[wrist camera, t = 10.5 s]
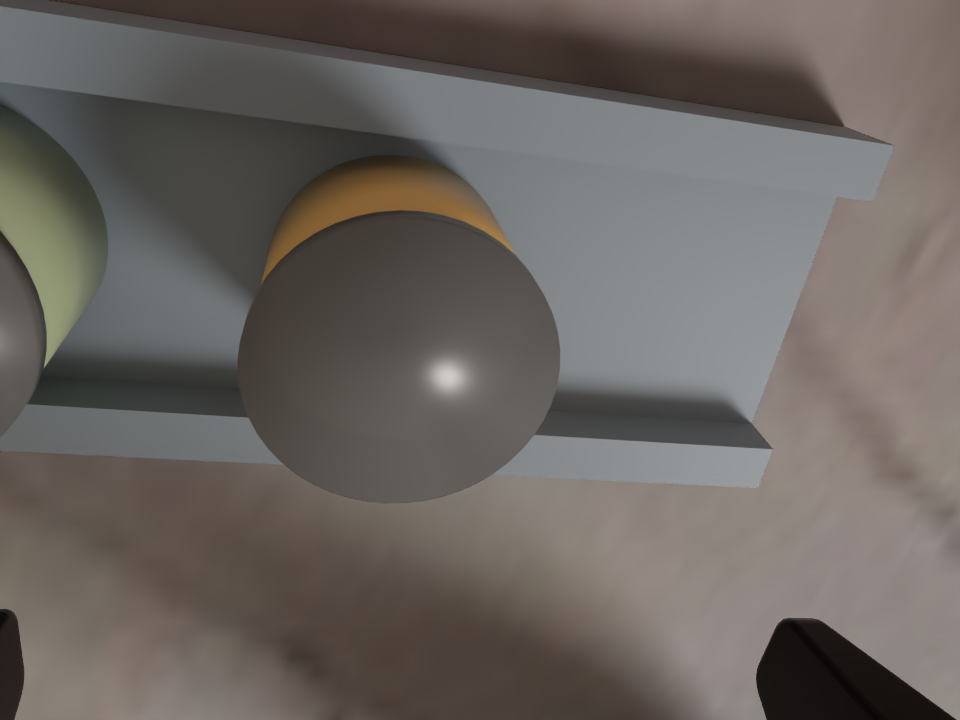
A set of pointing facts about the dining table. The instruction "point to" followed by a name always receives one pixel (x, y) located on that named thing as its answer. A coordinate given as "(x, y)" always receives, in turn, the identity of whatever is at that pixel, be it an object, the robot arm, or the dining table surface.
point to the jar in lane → (41, 255)
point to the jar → (395, 336)
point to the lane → (473, 157)
